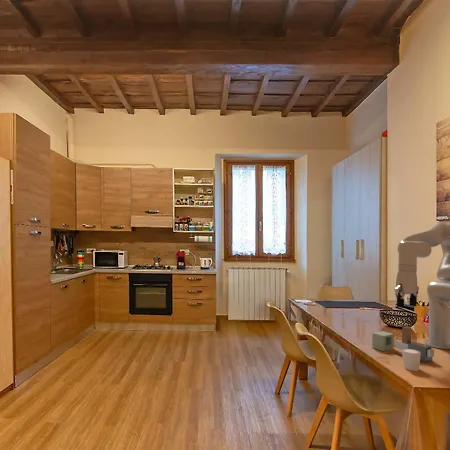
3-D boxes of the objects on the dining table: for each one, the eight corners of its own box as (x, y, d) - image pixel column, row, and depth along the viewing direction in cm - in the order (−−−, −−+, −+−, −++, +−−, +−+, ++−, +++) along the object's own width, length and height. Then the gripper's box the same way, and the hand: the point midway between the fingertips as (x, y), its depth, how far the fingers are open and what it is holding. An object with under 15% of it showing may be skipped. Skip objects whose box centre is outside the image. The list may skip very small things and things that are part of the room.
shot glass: (415, 365, 160) (415, 348, 161) (424, 371, 154) (424, 353, 154) (398, 365, 160) (399, 348, 160) (407, 371, 153) (407, 353, 153)
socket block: (382, 345, 189) (382, 331, 189) (393, 348, 184) (393, 333, 184) (372, 347, 184) (372, 333, 185) (383, 351, 179) (383, 336, 180)
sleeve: (414, 355, 174) (414, 341, 174) (432, 360, 167) (432, 346, 167) (406, 357, 171) (407, 343, 171) (424, 362, 164) (424, 347, 164)
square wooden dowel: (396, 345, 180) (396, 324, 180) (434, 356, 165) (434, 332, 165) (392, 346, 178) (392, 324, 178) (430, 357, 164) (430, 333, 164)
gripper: (410, 267, 183) (410, 303, 182) (388, 268, 173) (387, 306, 173) (426, 268, 176) (425, 306, 176) (403, 269, 167) (403, 309, 167)
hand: (406, 306), depth 174 cm, fingers open, 9 cm apart
